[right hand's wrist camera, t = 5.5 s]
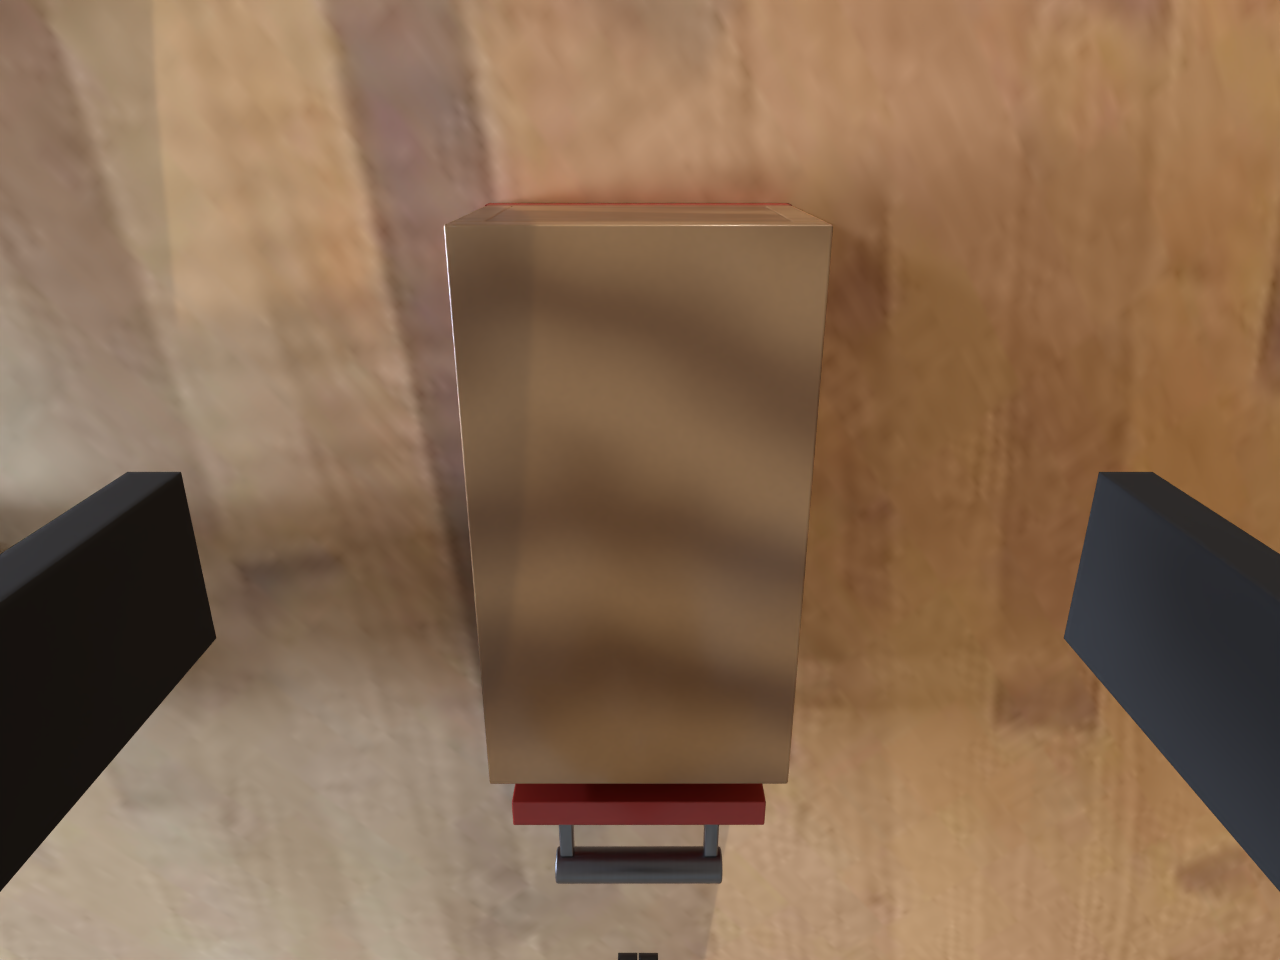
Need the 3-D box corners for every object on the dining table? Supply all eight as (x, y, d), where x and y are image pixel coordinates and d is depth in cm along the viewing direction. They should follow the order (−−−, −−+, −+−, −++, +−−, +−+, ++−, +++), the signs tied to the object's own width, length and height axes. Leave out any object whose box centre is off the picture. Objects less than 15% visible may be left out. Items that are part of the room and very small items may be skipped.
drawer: (741, 813, 43) (757, 920, 37) (536, 813, 43) (519, 920, 37) (769, 321, 33) (797, 360, 28) (507, 321, 33) (479, 360, 28)
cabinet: (760, 661, 40) (788, 784, 33) (517, 661, 40) (489, 784, 33) (788, 203, 33) (833, 224, 25) (488, 203, 33) (442, 224, 25)
